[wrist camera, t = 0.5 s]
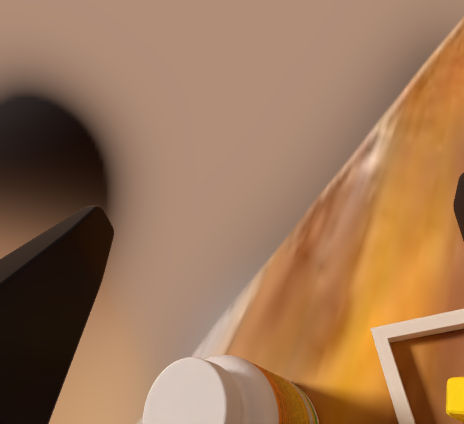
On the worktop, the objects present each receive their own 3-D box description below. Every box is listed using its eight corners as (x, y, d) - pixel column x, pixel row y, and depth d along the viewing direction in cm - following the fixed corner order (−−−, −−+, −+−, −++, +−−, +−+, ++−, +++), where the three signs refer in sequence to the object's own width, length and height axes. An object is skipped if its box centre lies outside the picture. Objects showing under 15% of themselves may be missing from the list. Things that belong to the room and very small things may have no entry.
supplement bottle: (288, 361, 22) (209, 313, 15) (343, 450, 19) (271, 440, 12) (222, 412, 23) (115, 387, 16) (263, 510, 19) (146, 535, 12)
